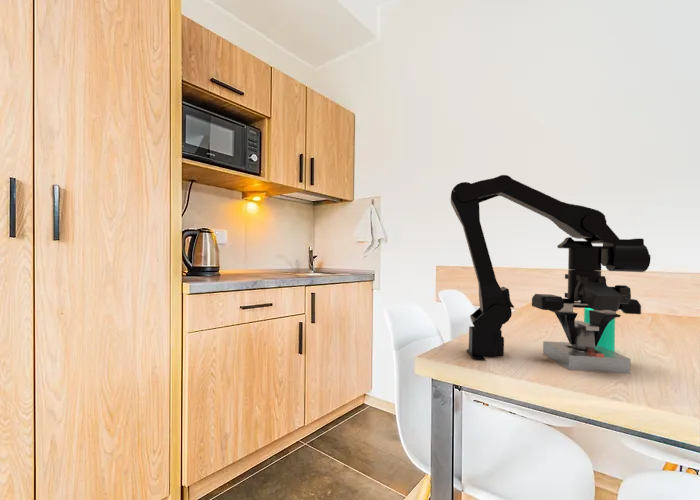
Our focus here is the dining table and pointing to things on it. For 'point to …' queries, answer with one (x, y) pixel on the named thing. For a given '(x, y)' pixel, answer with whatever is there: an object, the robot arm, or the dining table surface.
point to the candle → (608, 334)
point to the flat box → (586, 358)
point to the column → (584, 336)
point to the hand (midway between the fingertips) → (583, 344)
